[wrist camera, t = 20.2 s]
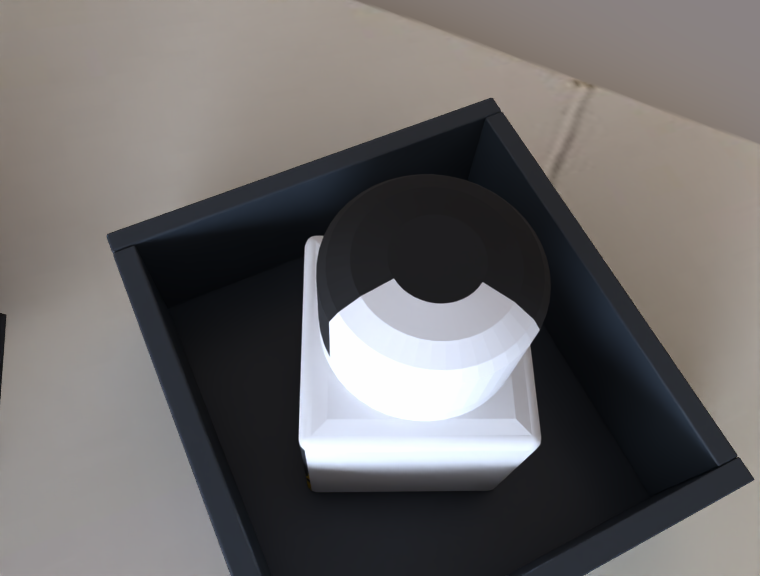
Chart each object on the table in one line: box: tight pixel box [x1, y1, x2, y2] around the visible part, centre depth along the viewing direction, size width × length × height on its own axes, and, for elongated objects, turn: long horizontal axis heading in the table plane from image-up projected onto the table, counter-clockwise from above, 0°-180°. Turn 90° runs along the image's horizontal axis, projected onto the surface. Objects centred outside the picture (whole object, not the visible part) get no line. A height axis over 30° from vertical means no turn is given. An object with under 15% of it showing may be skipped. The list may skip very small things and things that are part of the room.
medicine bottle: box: [299, 174, 551, 492], centre depth 23 cm, size 7×7×12 cm
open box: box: [107, 98, 754, 576], centre depth 26 cm, size 17×16×6 cm
